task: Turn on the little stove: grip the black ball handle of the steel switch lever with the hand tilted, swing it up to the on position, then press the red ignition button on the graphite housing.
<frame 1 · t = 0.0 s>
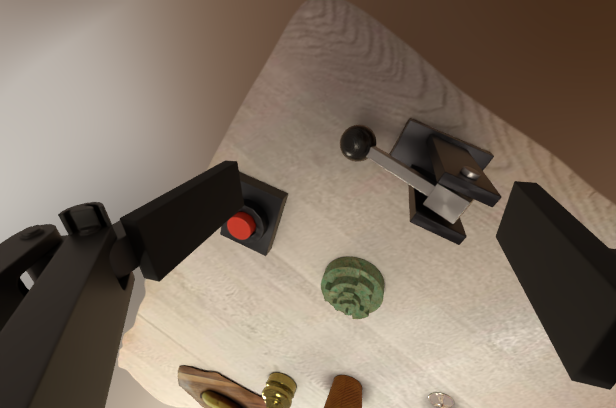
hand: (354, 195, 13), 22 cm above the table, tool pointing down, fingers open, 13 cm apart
lever: (397, 168, 25), point 10 cm above the table, hinge at -25.0°
cutting board: (227, 399, 82), on the table
salt shaker: (283, 380, 67), on the table
switch bracket: (435, 157, 33), on the table
wineglass: (440, 398, 52), on the table
decorative artifact: (353, 280, 45), on the table
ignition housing: (255, 212, 45), on the table
disposable coffee cup: (348, 383, 59), on the table
ignition button: (241, 225, 41), point 4 cm above the table, slide at 0.1 cm
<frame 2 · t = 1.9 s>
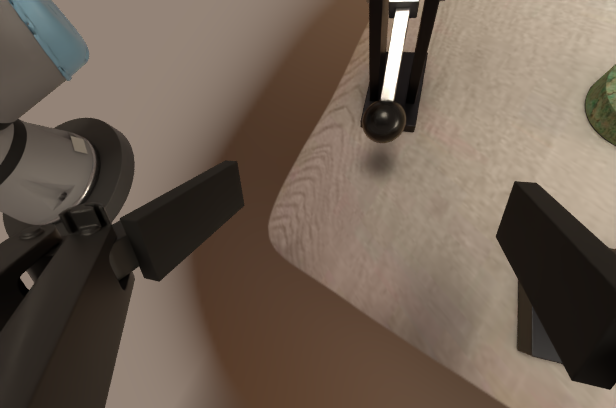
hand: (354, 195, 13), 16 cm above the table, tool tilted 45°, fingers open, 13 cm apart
lever: (394, 61, 22), point 10 cm above the table, hinge at -25.0°
switch bracket: (393, 93, 32), on the table
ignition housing: (602, 312, 22), on the table
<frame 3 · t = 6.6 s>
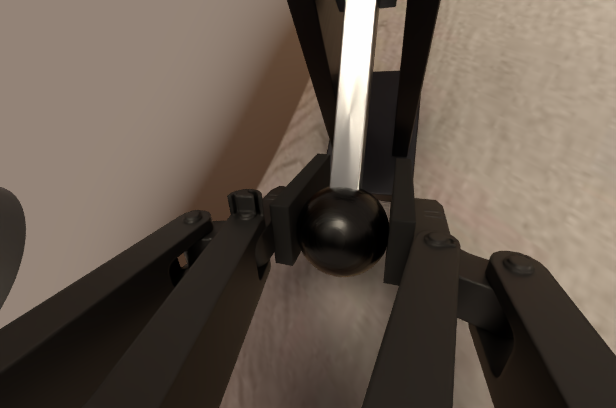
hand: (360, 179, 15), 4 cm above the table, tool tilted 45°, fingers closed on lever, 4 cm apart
lever: (353, 103, 10), point 10 cm above the table, hinge at -25.0°, touching gripper
switch bracket: (373, 136, 20), on the table
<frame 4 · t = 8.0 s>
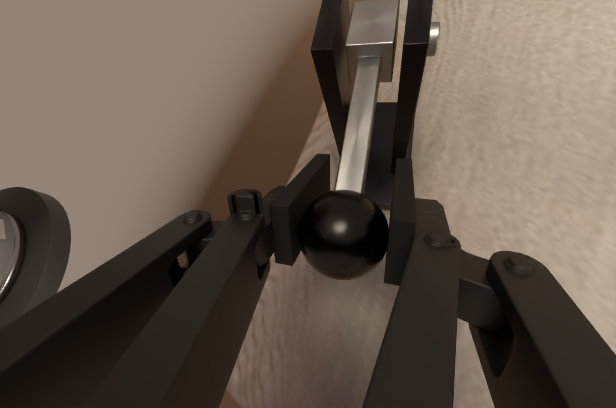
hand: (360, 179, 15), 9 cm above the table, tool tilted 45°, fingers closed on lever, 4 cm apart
lever: (359, 131, 12), point 12 cm above the table, hinge at 0.3°, touching gripper
switch bracket: (375, 156, 25), on the table
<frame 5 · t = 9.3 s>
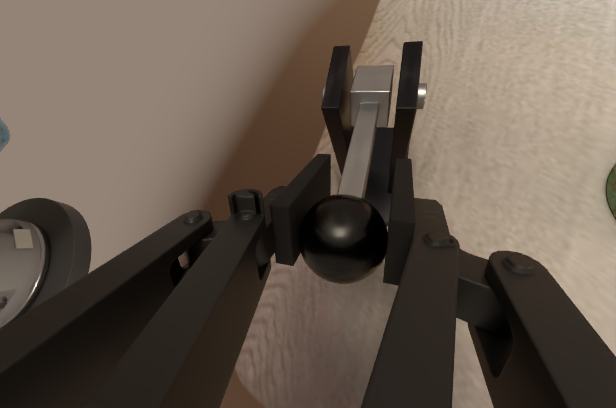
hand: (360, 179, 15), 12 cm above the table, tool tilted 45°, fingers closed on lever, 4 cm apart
lever: (359, 156, 14), point 14 cm above the table, hinge at 18.4°, touching gripper
switch bracket: (374, 176, 27), on the table
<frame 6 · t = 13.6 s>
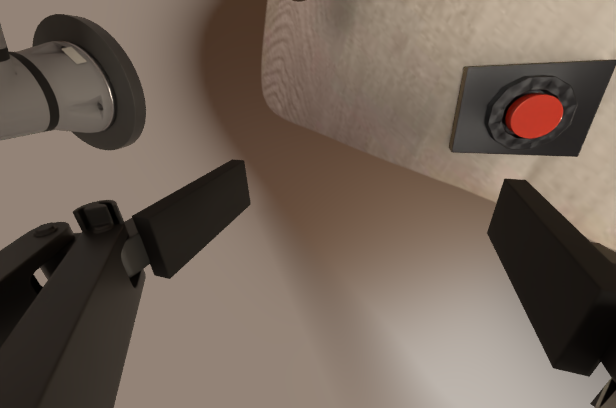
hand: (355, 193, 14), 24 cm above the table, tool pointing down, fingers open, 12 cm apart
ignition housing: (516, 109, 30), on the table
ignition button: (532, 115, 26), point 4 cm above the table, slide at 0.1 cm
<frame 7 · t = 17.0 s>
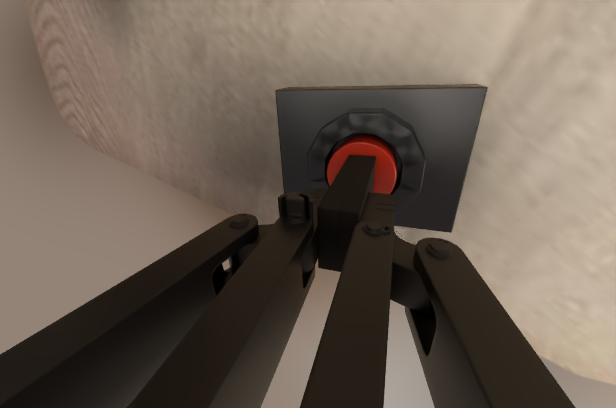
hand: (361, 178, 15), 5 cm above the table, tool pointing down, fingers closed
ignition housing: (368, 153, 19), on the table
ignition button: (362, 171, 16), point 4 cm above the table, slide at -0.6 cm, touching gripper
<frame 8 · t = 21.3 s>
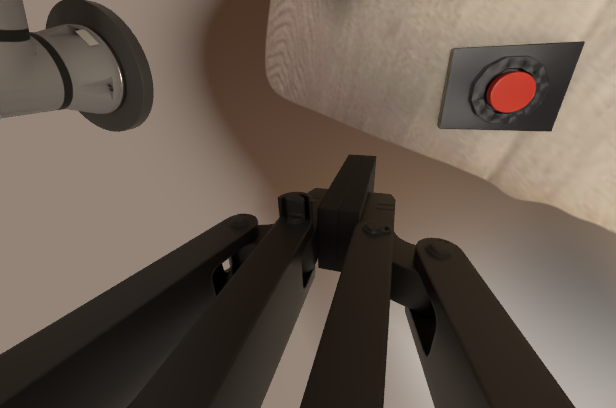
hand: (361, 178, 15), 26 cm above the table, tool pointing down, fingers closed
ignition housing: (497, 88, 33), on the table
ignition button: (509, 92, 29), point 4 cm above the table, slide at 0.1 cm
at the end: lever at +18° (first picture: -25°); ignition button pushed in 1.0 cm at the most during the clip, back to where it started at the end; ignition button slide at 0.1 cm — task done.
